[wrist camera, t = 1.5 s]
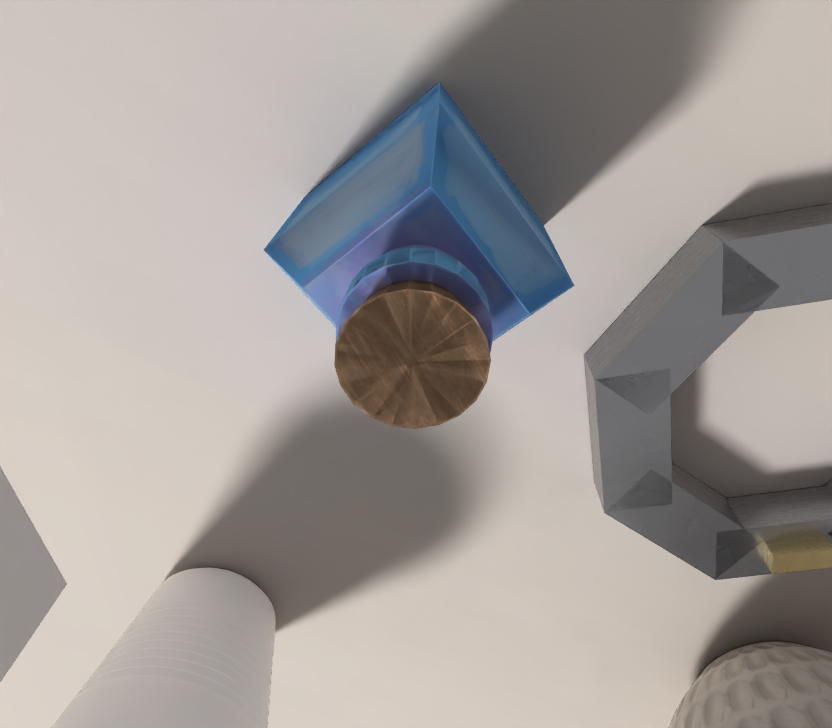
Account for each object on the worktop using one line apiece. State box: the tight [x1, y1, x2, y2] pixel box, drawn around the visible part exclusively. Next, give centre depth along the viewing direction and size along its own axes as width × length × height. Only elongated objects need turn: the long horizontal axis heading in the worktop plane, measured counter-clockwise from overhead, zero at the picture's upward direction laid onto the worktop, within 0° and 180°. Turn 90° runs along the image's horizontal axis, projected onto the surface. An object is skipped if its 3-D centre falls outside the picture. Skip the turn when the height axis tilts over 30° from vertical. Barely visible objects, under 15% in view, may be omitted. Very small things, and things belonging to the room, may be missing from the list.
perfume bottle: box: [264, 82, 574, 429], centre depth 19 cm, size 6×6×12 cm
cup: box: [52, 567, 276, 728], centre depth 29 cm, size 10×10×11 cm
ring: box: [584, 203, 832, 580], centre depth 26 cm, size 16×16×3 cm
